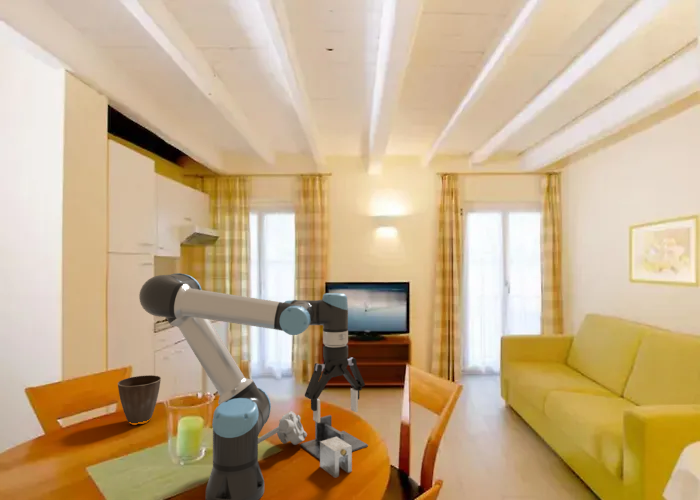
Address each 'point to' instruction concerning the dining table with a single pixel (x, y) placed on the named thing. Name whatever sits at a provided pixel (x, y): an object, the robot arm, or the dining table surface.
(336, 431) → the dark grey angled piece
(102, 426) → the dining table surface
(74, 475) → the dining table surface
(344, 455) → the hollow grey box
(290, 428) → the valve
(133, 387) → the plant pot
